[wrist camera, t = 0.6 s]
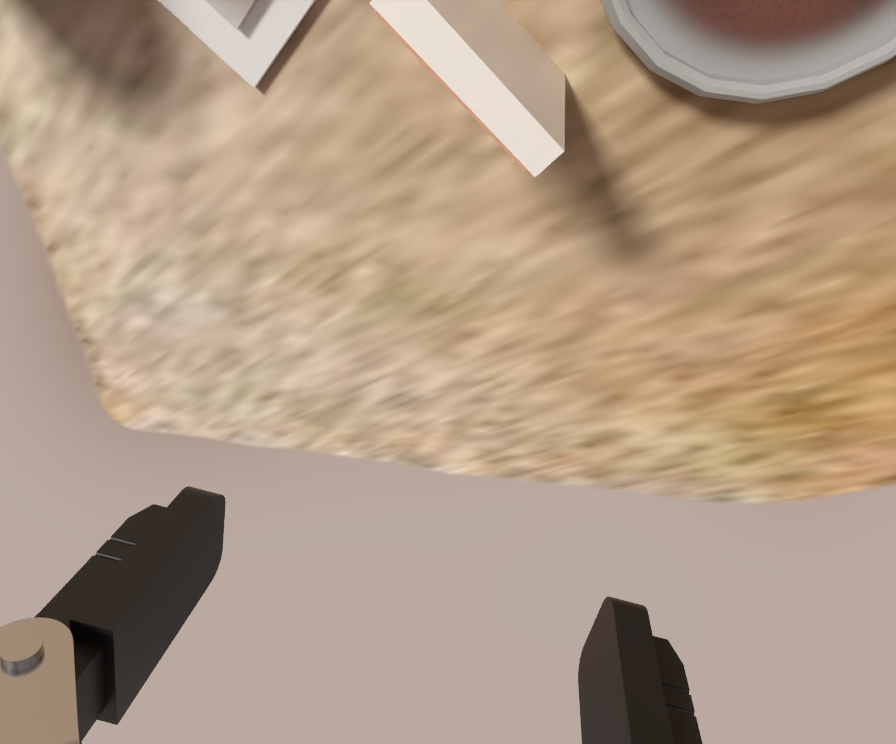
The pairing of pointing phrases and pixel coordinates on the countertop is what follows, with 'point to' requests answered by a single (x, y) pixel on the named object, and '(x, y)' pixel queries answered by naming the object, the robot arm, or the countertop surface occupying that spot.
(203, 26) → the mat
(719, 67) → the frying pan
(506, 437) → the countertop surface
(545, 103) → the tile
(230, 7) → the tan long bar
